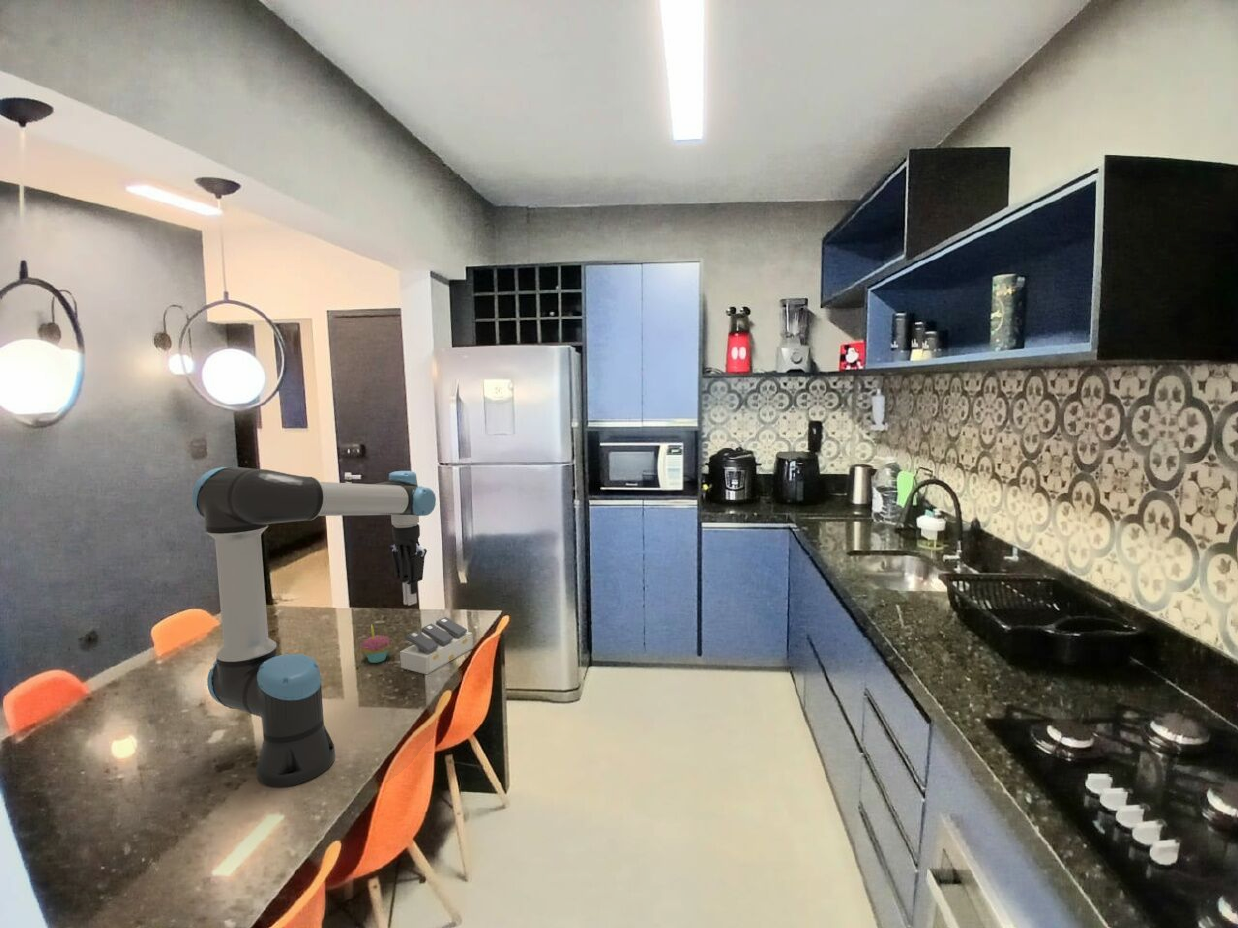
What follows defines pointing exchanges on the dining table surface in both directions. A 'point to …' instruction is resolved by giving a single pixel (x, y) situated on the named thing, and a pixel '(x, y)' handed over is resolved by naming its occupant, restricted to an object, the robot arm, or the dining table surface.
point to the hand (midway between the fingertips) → (410, 603)
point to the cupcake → (376, 647)
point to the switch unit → (435, 654)
